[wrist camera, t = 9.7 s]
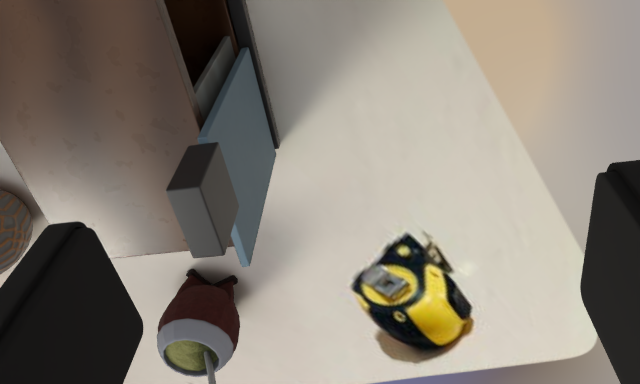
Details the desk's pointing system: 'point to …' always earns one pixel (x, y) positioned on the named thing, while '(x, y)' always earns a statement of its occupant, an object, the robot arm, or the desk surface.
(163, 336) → the mate gourd
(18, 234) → the vase
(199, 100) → the cabinet
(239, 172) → the sliding door
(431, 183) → the desk surface
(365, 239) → the desk surface
